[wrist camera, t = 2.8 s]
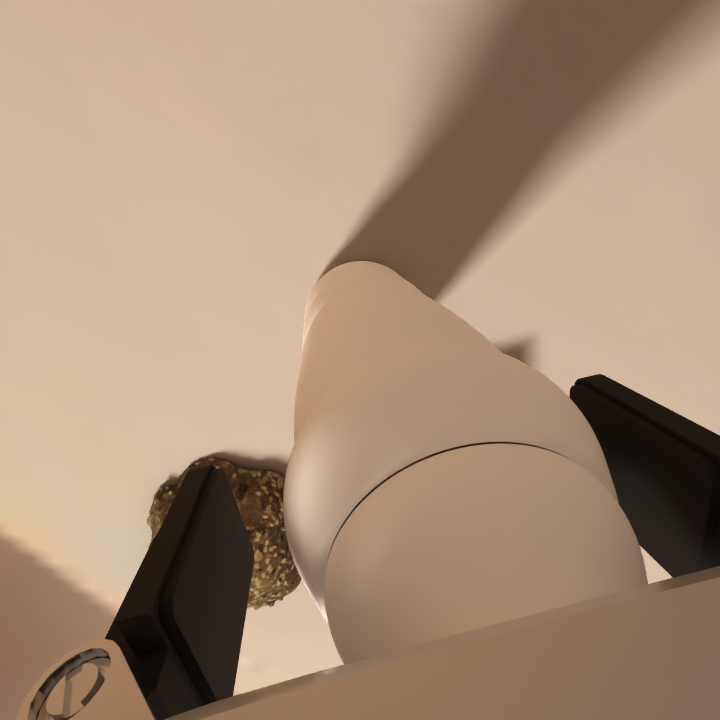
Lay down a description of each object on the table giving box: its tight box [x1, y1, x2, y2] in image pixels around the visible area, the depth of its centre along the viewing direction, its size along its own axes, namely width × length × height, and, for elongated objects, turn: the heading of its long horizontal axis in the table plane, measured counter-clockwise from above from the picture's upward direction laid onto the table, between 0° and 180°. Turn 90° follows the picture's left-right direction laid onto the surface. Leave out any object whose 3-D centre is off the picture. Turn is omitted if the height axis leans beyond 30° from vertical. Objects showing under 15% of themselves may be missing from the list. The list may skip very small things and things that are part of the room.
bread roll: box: [147, 458, 301, 610], centre depth 28 cm, size 13×12×5 cm
